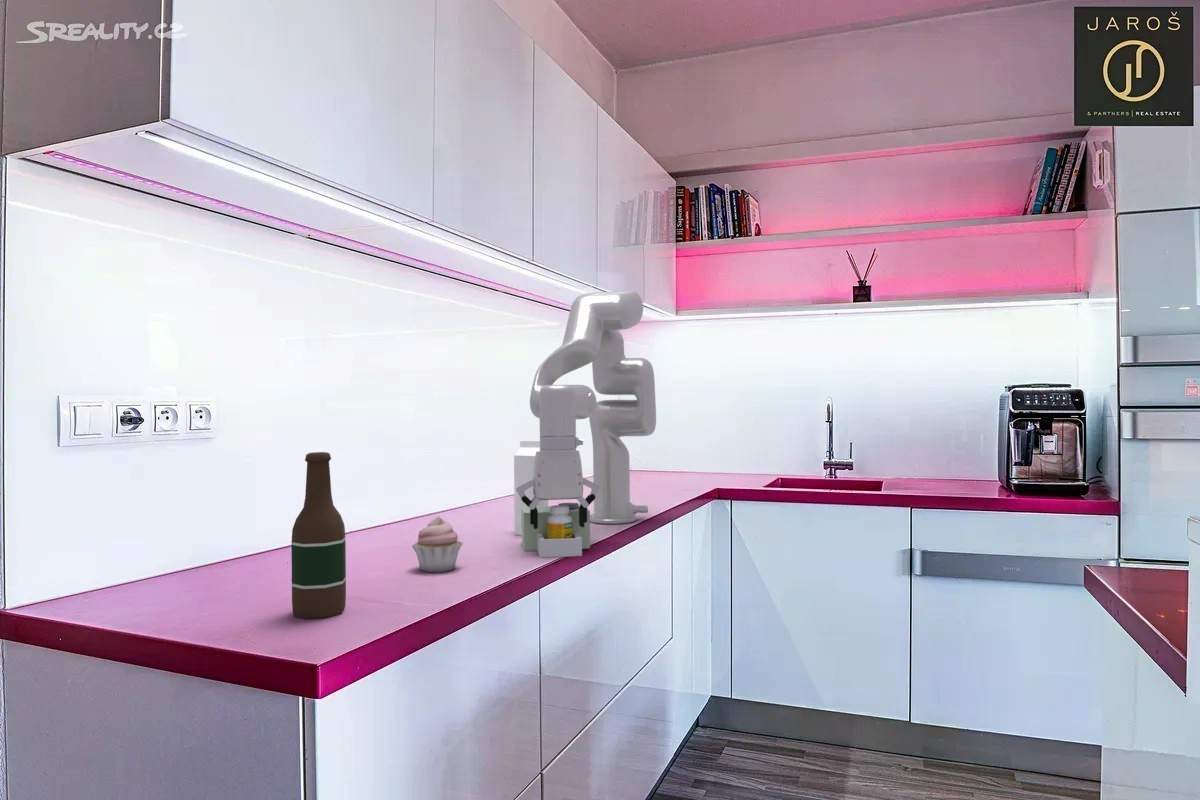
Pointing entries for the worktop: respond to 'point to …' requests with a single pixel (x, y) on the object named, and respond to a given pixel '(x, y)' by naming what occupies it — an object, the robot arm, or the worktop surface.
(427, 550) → the cupcake
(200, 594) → the worktop surface
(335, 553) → the beer bottle
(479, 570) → the worktop surface
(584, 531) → the green box with tray
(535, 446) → the milk
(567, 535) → the supplement bottle
